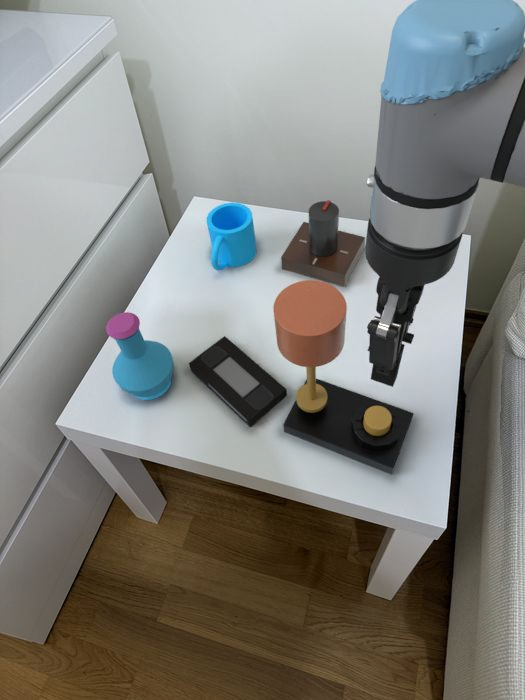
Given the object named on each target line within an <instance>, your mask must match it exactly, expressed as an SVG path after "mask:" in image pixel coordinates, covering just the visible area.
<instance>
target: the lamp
mask: <svg viewBox="0 0 525 700" xmlns="http://www.w3.org/2000/svg"><path fill="white" fill-rule="evenodd" d="M347 310H348V305H347V301H346V298H345V297H344V295H343V294H342V292H341V291H340V290H339V289H338V288H336V287H335V286H334V285H333V284H331V283H329V282H325V281H322V280H317V279H316V280H315V279H308V280H306V279H305V280H300V281H297V282H294V283H291V284H289V285H288V286H286V287H284V288H283V289H282V290H281V291H280V292H279V293H278V294H277V296H276V298H275V299H274V303H273V318H274V328H275V337H276V345H277V348H278V351H279V353H280V354H281V356H283V358H284V359H285V360H286V361H288V362H290V363H292V364H293V365H296V366H298V367H304V368H306V379H307V384H304V383H303V384H302V385H301V386H300V387H299V388H298V389H297V390H296V393H295V401H296V402H297V404H298V406H299V407H300V408H301V409H302V410H303V411H306V412H310V413H314V412H318V411H320V410H322V409H323V408H324V407H325V406H326V404H327V399H328V395H327V392H326V390H325V389H324V388H323V387H322V386H321V385H319V384H316V379H317V368H318V367H322V366H325V365H327V364H329V363H331V362H333V361H334V360H335V359H336V358H338V357H339V356H340V354H341V353H342V351H343V349H344V346H345V342H346V341H345V339H346V325H347Z"/></svg>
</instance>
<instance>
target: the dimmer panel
mask: <svg viewBox="0 0 525 700" xmlns="http://www.w3.org/2000/svg"><path fill="white" fill-rule="evenodd" d="M365 246H366V237H365V236H362V235H359V234H354V233H350V232H346V231H344V230H343V231H342V230H339V229H338V248H337V250H336V252H335V253H333V254H332V255H329V256H324V257H322V256H317V255H315V254H313V253H312V252H311V251H310V249H309V222H306V221H303V222H302V223H301V225H300V226H299V228H298V230H297V231H296V233H295V235H294V236H293V237H292V239H291V241H290V243H289V244H288V246H287V247H286V249H285V250H284V252H283V253H282V255H281V257H280V260H281V269H282V270H284V271H287V272H291V273H294V274H298V275H301V276H305V277H309V278H312V279H314V280H315V279H316V280H317V281H322V282H325V283H328V284H331V285H336V286H340V287H343V288H344V287H346V285H347V283H348V281H349V279H350V277H351V276H352V274H353V271H354V269H355V268H356V266H357V264H358V262H359V260H360V258H361V256H362V254H363V252H365Z"/></svg>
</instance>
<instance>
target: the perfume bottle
mask: <svg viewBox="0 0 525 700" xmlns="http://www.w3.org/2000/svg"><path fill="white" fill-rule="evenodd" d="M106 323H107V324H106V326H105V331H106V335H108V336H109V337H110V338H111V339H113V340H115V342H116V344H117V346H118V348H119V349H120V352H119V353H118V355H117V356H116V358H115V360H114V362H113V364H112V369H111V370H112V371H111V373H112V377H113V380H114V382H115V383H116V384H117V385H118V387H119V388H120V389H121V390H123V391H124V392H126V393H128V394H130V395H132V396H134V397H135V398H137V399H139V400H143V401H151V400H156V399H158V398H160V397H162V395H164V394H165V393H166V392H167V391H168V390H169V388H170V386H171V384H172V376H173V371H174V359H173V355H172V352H171V351H170V349H169V348H168V347H167V346H166V345H165V344H163V343H162V342H158V341H155V340H148V339H147V340H146V339H144V337H143V334H142V332H141V330H140V326H141V325H140V324H141V321H140V318H139V316H138V315H136V314H135V313H133V312H129V311H128V312H127V311H125V312H120V313H117V314H115V315H113V316H112V317H111V318H110V319H109V320H108V322H106Z"/></svg>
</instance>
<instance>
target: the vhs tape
mask: <svg viewBox="0 0 525 700" xmlns="http://www.w3.org/2000/svg"><path fill="white" fill-rule="evenodd" d="M188 366H189V368H190V371H191V372H192V373H193V374H194V375H195V376H196V377H197V378H198V380H200V381H201V382H202V383H203V384H204V385H205V386H206V387H207V388H208V389H209V390H211V391H212V392H213V394H214V395H216V396H217V397H218V399H220V400H221V401H222V402H223V403H224V405H226V406H227V407H228V408H229V409H230V410H231V411H232V412H233V413H234V414H236V415H237V417H238V418H240V420H242V421H243V422H244V423H245V424H246V425H247V426H248V427H249V428H251V427H252V426H253V425H254V424H256V423H257V422H258V421H260V420H261V419H262V418H263V417H264V416H265V415H267V413H269V412H270V411H271V410H272V409H274V407H275V406H277V405H278V404H279V403H281V401H283V400H284V399H285V398H286V397H287V396H288V392H287V388H286V387H284V385H283V384H281V383H280V382H279V381H278V380H277V379H275V377H273V376H272V375H271V374H269V373H268V372H267V371H266V370H265V369H264V368H263V367H262V366H260V365H259V364H258V363H257V362H256V361H254V360H253V359H252V358H251V357H250V356H249V355H248V354H247V353H245V352H244V351H243V350H242V349H241V348H239V347H238V346H237V345H236V344H235V343H234V342H233V341H232V340H230V339H229V338H228V337H226V335H224V336H223V337H221V338H220V339H219V340H217V341H216V342H214V343H213V344H211V346H209V347H208V348H207V349H205V350H204V351H203V352H201V353H200V354H199V355H197V356H196V357H195V358H194V359H192V360H191V361H189V363H188Z"/></svg>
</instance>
